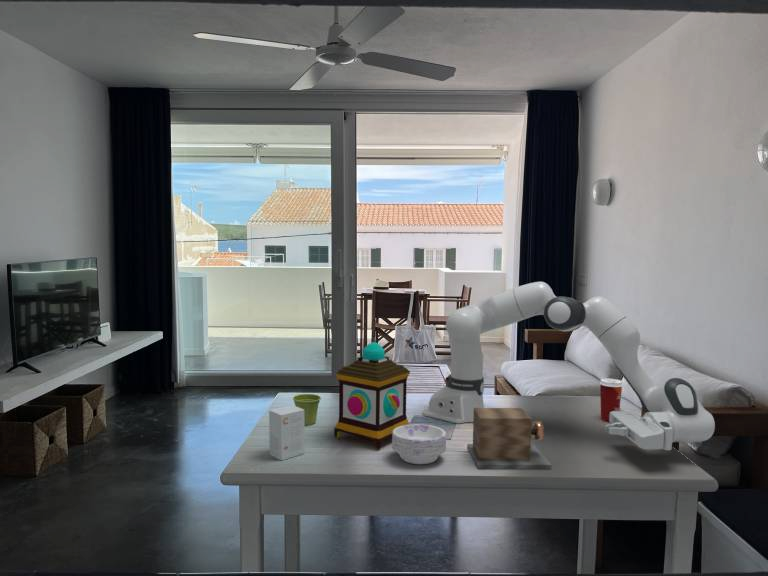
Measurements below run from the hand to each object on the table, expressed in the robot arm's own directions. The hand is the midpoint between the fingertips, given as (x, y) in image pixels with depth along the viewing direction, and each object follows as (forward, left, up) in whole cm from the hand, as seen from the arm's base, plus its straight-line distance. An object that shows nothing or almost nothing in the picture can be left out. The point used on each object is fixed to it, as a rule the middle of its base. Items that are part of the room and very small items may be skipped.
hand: (607, 429), depth 159 cm
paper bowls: (-46, -27, -9) cm, 54 cm away
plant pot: (-92, -17, -9) cm, 94 cm away
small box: (-80, -43, -9) cm, 92 cm away
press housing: (-25, -14, -8) cm, 30 cm away
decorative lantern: (-66, -18, -9) cm, 69 cm away
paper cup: (-3, +39, -9) cm, 40 cm away
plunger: (-24, -14, -3) cm, 28 cm away
